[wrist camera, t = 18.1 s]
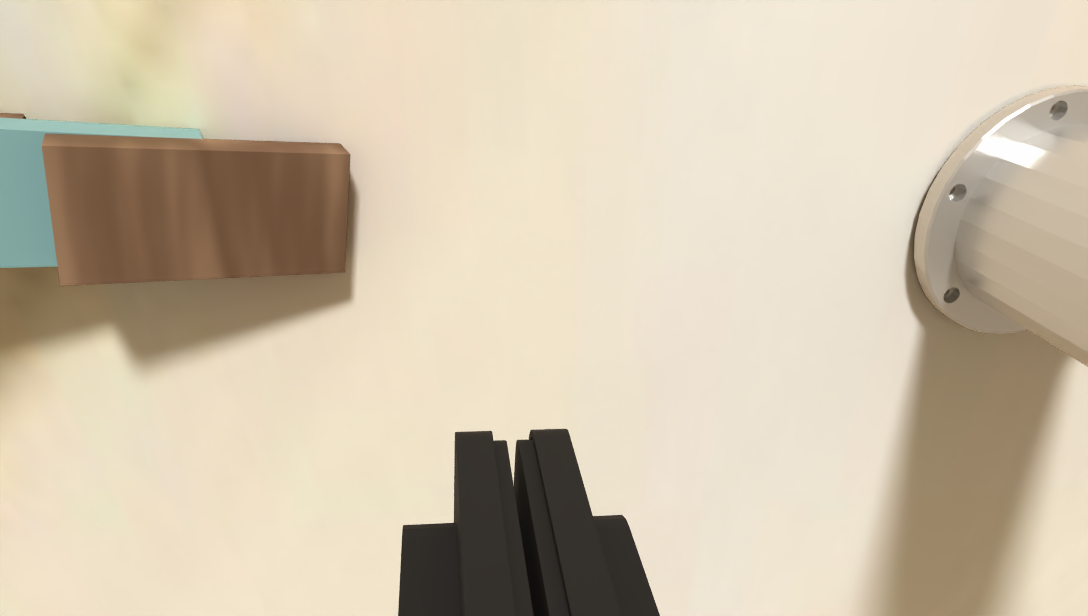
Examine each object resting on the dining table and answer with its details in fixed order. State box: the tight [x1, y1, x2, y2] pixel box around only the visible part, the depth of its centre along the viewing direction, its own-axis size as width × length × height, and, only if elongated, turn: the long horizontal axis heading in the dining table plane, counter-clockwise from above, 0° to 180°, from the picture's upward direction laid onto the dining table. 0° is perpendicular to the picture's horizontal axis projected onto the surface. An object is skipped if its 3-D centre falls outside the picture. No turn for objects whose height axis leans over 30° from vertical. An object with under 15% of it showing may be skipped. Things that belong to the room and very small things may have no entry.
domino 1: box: [0, 118, 203, 268], centre depth 27 cm, size 2×5×10 cm
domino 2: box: [42, 133, 350, 286], centre depth 28 cm, size 2×5×10 cm
